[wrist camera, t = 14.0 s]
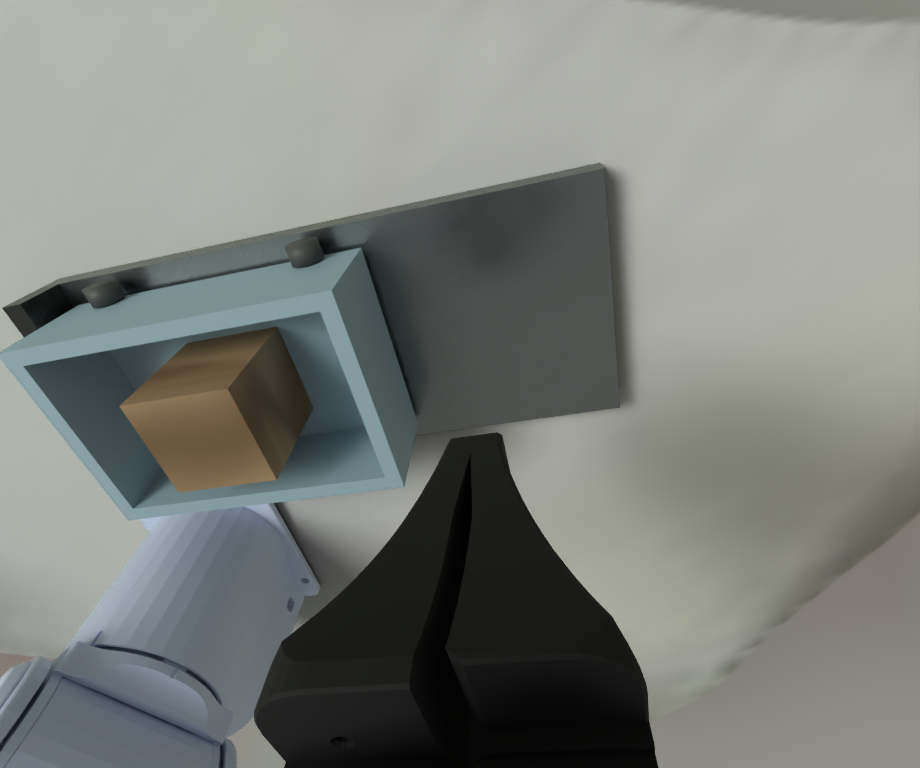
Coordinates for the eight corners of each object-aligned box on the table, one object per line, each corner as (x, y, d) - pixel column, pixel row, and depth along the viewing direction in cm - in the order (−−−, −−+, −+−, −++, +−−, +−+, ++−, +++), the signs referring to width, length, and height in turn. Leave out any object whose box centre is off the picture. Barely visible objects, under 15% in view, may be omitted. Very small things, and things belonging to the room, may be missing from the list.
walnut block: (313, 408, 22) (276, 480, 19) (230, 420, 23) (178, 492, 19) (277, 326, 20) (227, 388, 16) (187, 342, 21) (119, 406, 17)
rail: (615, 394, 23) (629, 435, 21) (176, 456, 27) (143, 498, 24) (599, 163, 18) (616, 180, 16) (59, 278, 22) (2, 308, 19)
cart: (421, 435, 24) (409, 500, 20) (186, 468, 26) (137, 532, 22) (354, 227, 19) (322, 266, 15) (67, 287, 21) (-19, 334, 17)
